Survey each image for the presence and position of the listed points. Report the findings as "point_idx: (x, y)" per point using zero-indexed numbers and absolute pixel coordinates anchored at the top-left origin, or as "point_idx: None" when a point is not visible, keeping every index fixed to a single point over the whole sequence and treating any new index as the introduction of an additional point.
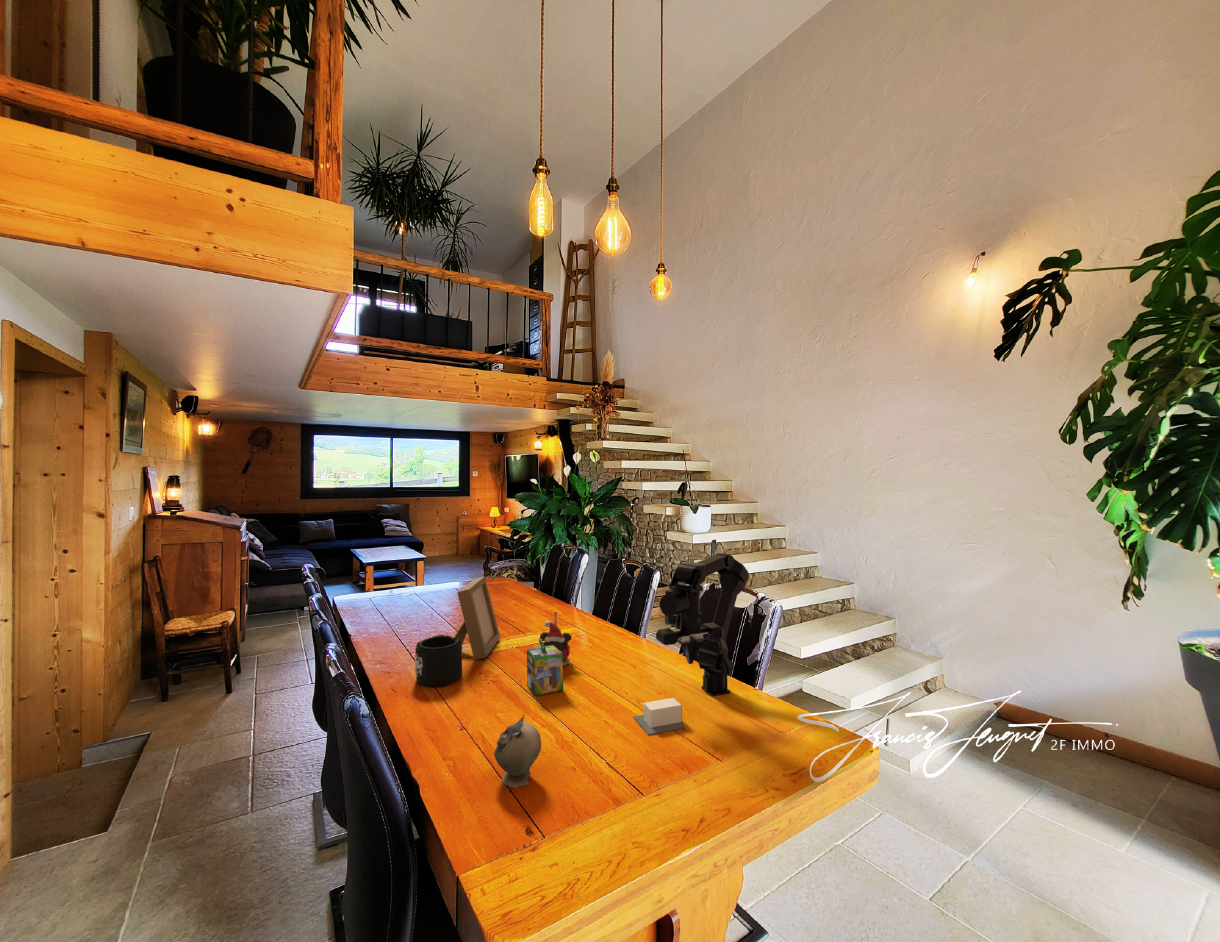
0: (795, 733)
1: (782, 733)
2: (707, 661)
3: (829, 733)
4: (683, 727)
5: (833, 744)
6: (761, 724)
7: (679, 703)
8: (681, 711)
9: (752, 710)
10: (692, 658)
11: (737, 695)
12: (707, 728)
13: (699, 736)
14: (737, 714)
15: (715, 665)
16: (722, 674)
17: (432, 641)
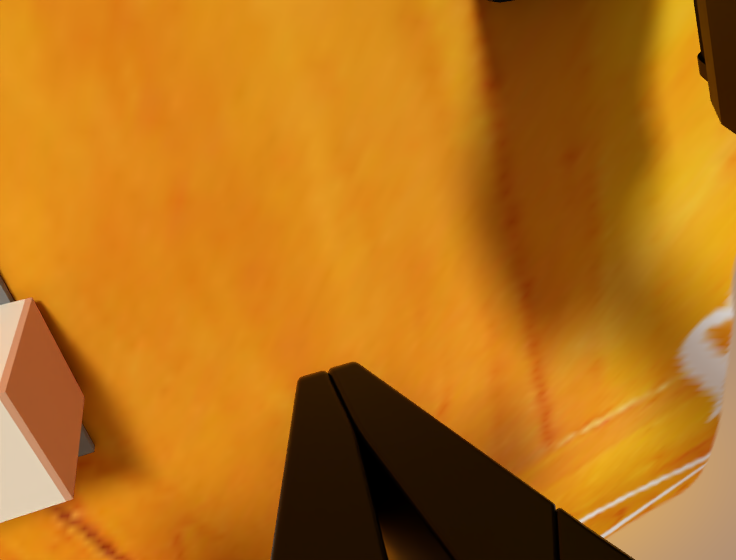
0: (585, 442)
1: (545, 446)
2: (733, 8)
3: (678, 432)
4: (83, 454)
5: (630, 487)
6: (521, 388)
7: (52, 483)
8: (74, 455)
9: (581, 257)
10: (387, 553)
11: (651, 31)
12: (242, 436)
13: (168, 506)
14: (481, 296)
15: (727, 122)
16: (702, 65)
17: None
